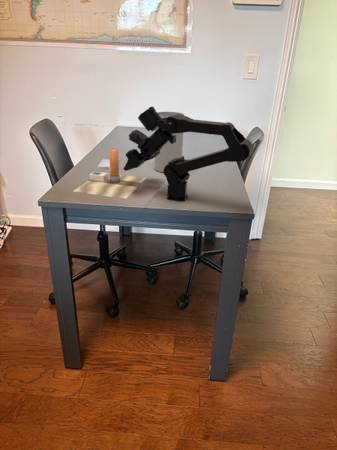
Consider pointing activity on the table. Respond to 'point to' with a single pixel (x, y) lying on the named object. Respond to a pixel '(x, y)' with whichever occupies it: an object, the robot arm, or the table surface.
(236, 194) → the table surface
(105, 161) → the hard drive
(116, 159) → the awl
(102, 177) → the block
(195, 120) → the robot arm
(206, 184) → the table surface
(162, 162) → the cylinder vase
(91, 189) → the subfloor board
